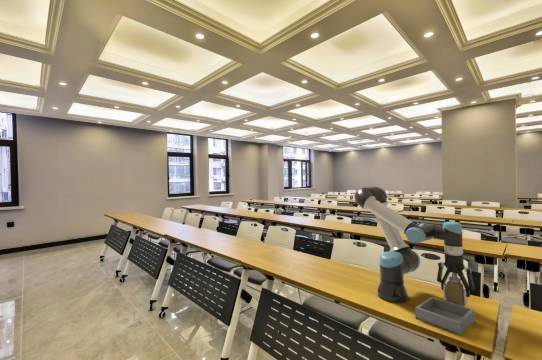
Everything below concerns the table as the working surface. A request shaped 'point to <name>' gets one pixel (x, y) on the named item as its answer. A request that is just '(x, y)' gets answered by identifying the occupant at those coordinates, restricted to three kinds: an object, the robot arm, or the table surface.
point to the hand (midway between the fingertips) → (455, 299)
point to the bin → (445, 315)
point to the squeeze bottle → (455, 290)
